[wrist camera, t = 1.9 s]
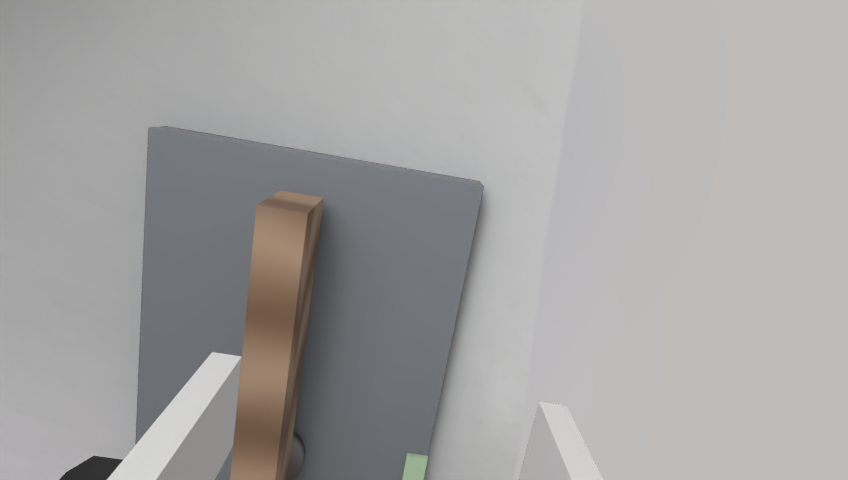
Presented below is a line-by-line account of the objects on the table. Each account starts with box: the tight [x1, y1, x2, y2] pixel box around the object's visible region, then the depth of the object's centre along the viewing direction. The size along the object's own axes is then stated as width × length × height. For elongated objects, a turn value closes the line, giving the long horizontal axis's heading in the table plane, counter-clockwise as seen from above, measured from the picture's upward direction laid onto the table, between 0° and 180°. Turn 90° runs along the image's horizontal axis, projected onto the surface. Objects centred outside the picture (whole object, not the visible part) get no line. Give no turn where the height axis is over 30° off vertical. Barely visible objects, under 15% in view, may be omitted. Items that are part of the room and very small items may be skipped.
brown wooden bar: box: [230, 190, 324, 480], centre depth 30 cm, size 28×4×5 cm, turn 170°
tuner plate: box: [136, 126, 484, 480], centre depth 34 cm, size 32×19×2 cm, turn 170°
